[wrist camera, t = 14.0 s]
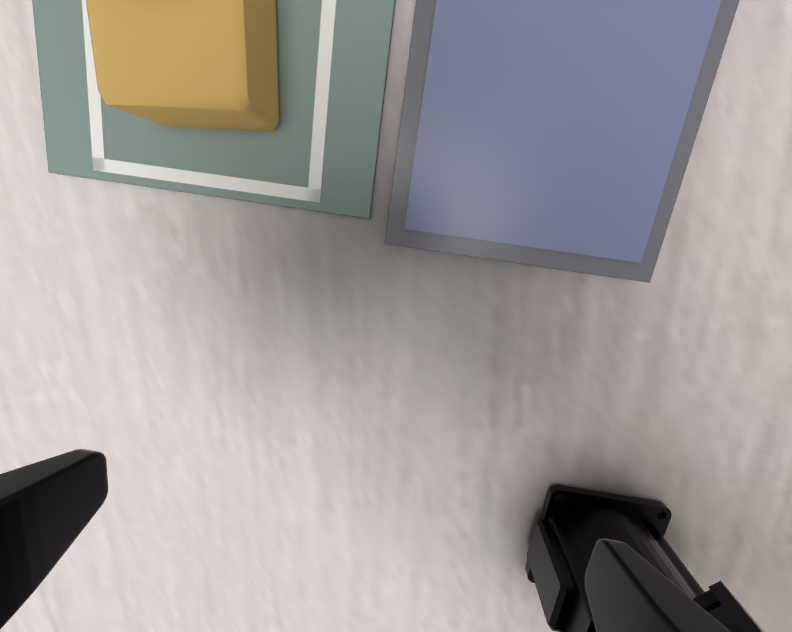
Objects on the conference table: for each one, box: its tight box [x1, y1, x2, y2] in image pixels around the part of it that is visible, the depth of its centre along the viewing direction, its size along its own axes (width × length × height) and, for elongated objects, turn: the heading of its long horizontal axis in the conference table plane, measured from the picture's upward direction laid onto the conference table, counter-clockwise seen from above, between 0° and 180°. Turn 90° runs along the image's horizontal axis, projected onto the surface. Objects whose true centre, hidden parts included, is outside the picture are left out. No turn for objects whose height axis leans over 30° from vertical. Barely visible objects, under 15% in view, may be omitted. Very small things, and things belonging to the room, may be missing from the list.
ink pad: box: [385, 0, 739, 283], centre depth 16 cm, size 12×14×2 cm
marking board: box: [32, 0, 395, 219], centre depth 16 cm, size 16×16×1 cm
